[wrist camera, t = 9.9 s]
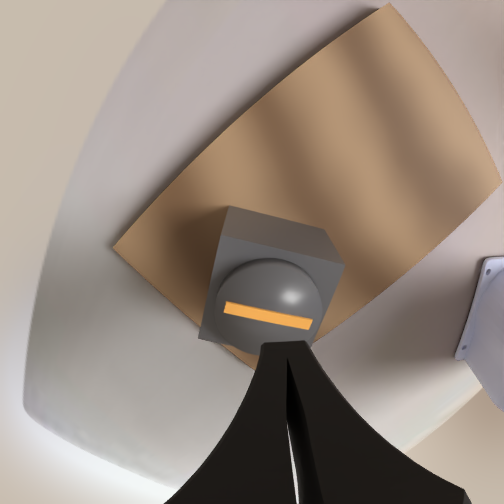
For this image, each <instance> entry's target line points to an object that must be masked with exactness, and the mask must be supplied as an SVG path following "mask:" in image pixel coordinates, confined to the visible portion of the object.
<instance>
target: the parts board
mask: <svg viewBox="0 0 504 504" xmlns="http://www.w3.org/2000/svg"><path fill="white" fill-rule="evenodd" d="M501 183H502V180H501V177H500V175H499V172H498V170H497V168H496V166H495V163H494V161H493V159H492V157H491V155H490V152H489V150H488V148H487V146H486V144H485V142H484V140H483V138H482V136H481V134H480V132H479V130H478V128H477V126H476V125H475V123H474V121H473V119H472V117H471V115H470V114H469V112H468V110H467V108H466V107H465V105H464V103H463V101H462V100H461V98H460V96H459V95H458V93H457V91H456V90H455V88H454V87H453V85H452V83H451V82H450V80H449V79H448V77H447V76H446V74H445V73H444V71H443V70H442V68H441V67H440V65H439V64H438V63H437V61H436V60H435V58H434V57H433V55H432V54H431V53H430V51H429V50H428V49H427V47H426V46H425V45H424V43H423V42H422V41H421V39H420V38H419V37H418V36H417V34H416V33H415V32H414V31H413V29H412V28H411V27H410V26H409V24H408V23H407V22H406V21H405V20H404V18H403V17H402V16H401V15H400V14H399V13H398V11H397V10H396V9H395V8H394V7H393V6H392V5H391V4H390V2H389V3H388V4H386V5H385V6H383V7H382V8H380V9H378V10H377V11H375V12H374V13H372V14H371V15H369V16H368V17H366V18H365V19H363V20H362V21H360V22H359V23H358V24H356V25H355V26H353V27H352V28H350V29H349V30H348V31H346V32H345V33H343V34H342V35H341V36H339V37H338V38H336V39H335V40H334V41H332V42H331V43H330V44H328V45H327V46H325V47H324V48H323V49H321V50H320V51H319V52H318V53H316V54H315V55H314V56H312V57H311V58H310V59H308V60H307V61H306V62H305V63H303V64H302V65H301V66H299V67H298V68H297V69H296V70H294V71H293V72H292V73H291V74H289V75H288V76H287V77H286V78H285V79H283V80H282V81H281V82H280V83H278V84H277V85H276V86H275V87H274V88H272V89H271V90H270V91H269V92H268V93H267V94H265V95H264V96H263V97H262V98H261V99H260V100H258V101H257V102H256V103H255V104H254V105H253V106H251V107H250V108H249V109H248V110H247V111H246V112H245V113H244V114H242V115H241V116H240V117H239V118H238V119H237V120H236V121H235V122H234V123H232V124H231V125H230V126H229V127H228V128H227V129H226V130H225V131H224V132H223V133H222V134H221V135H219V136H218V137H217V138H216V139H215V140H214V141H213V142H212V143H211V144H210V145H209V146H208V147H207V148H206V149H205V150H204V151H203V152H202V153H201V154H200V155H199V156H198V157H197V158H196V159H194V160H193V161H192V162H191V163H190V164H189V165H188V166H187V167H186V168H185V169H184V170H183V171H182V172H181V173H180V175H179V176H178V177H177V178H176V179H175V180H174V181H173V182H172V183H171V184H170V185H169V186H168V187H167V188H166V189H165V190H164V191H163V192H162V193H161V194H160V195H159V196H158V197H157V198H156V200H155V201H154V202H153V203H152V204H151V205H150V206H149V207H148V208H147V209H146V210H145V211H144V213H143V214H142V215H141V216H140V217H139V218H138V219H137V220H136V221H135V223H134V224H133V225H132V226H131V227H130V228H129V229H128V230H127V232H126V233H125V234H124V235H123V236H122V237H121V239H120V240H119V241H118V242H117V243H116V244H115V246H114V247H113V249H114V250H115V251H116V252H117V253H118V254H119V255H120V256H121V257H122V258H123V259H125V260H126V261H127V262H128V263H129V264H130V265H131V266H132V267H133V268H134V269H135V270H136V271H137V272H138V273H139V274H141V275H142V276H143V277H144V278H145V279H146V280H147V281H148V282H149V283H150V284H151V285H153V286H154V287H155V288H156V289H157V290H158V291H159V292H160V293H161V294H163V295H164V296H165V297H166V298H167V299H168V300H169V301H170V302H172V303H173V304H174V305H175V306H176V307H177V308H179V309H180V310H181V311H182V312H183V313H184V314H185V315H187V316H188V317H189V318H190V319H191V320H193V321H194V322H195V323H196V324H197V325H198V326H200V327H201V322H202V317H203V313H204V308H205V303H206V299H207V294H208V289H209V285H210V280H211V276H212V271H213V267H214V262H215V258H216V254H217V249H218V245H219V241H220V236H221V232H222V229H223V225H224V222H225V218H226V215H227V211H228V208H229V205H230V206H235V207H239V208H243V209H247V210H251V211H255V212H259V213H263V214H267V215H271V216H275V217H279V218H283V219H287V220H291V221H295V222H298V223H302V224H306V225H310V226H314V227H317V228H321V229H324V230H325V231H326V233H327V235H328V236H329V238H330V240H331V241H332V243H333V245H334V246H335V248H336V250H337V251H338V253H339V255H340V256H341V258H342V260H343V261H344V263H345V268H344V270H343V273H342V275H341V278H340V280H339V283H338V285H337V288H336V290H335V293H334V295H333V297H332V300H331V302H330V305H329V307H328V309H327V312H326V314H325V316H324V318H323V321H322V323H321V325H320V328H319V330H318V332H317V334H316V337H315V339H314V341H313V343H314V342H315V341H317V340H318V339H320V338H321V337H323V336H324V335H325V334H327V333H328V332H330V331H331V330H332V329H334V328H335V327H337V326H338V325H339V324H341V323H342V322H343V321H345V320H346V319H348V318H349V317H350V316H352V315H353V314H354V313H356V312H357V311H358V310H360V309H361V308H362V307H364V306H365V305H366V304H367V303H369V302H370V301H371V300H373V299H374V298H375V297H376V296H378V295H379V294H380V293H382V292H383V291H384V290H385V289H387V288H388V287H389V286H390V285H392V284H393V283H394V282H395V281H396V280H398V279H399V278H400V277H401V276H403V275H404V274H405V273H406V272H407V271H409V270H410V269H411V268H412V267H413V266H414V265H416V264H417V263H418V262H419V261H420V260H421V259H423V258H424V257H425V256H426V255H427V254H428V253H430V252H431V251H432V250H433V249H434V248H435V247H436V246H437V245H439V244H440V243H441V242H442V241H443V240H444V239H445V238H446V237H447V236H448V235H450V234H451V233H452V232H453V231H454V230H455V229H456V228H457V227H458V226H459V225H460V224H461V223H462V222H463V221H464V220H466V219H467V218H468V217H469V216H470V215H471V214H472V213H473V212H474V211H475V210H476V209H477V208H478V207H479V206H480V205H481V204H482V203H483V202H484V201H485V200H486V199H487V198H488V197H489V196H490V195H491V194H492V193H493V192H494V191H495V190H496V189H497V187H498V186H499V185H500V184H501ZM313 343H312V344H313ZM222 345H223V346H224V347H225V348H227V349H228V350H229V351H230V352H232V353H233V354H234V355H235V356H237V357H238V358H239V359H241V360H242V361H243V362H244V363H246V364H247V365H248V366H250V367H251V368H252V369H253V370H256V367H257V363H258V360H259V356H258V355H253V354H249V353H246V352H243V351H241V350H239V349H237V348H235V347H234V346H230V345H225V344H222Z"/></svg>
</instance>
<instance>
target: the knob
mask: <svg viewBox="0 0 504 504" xmlns="http://www.w3.org/2000/svg"><path fill="white" fill-rule="evenodd" d="M344 268H345V263H344V261H343V260H342V258H341V256H340V255H339V253H338V251H337V250H336V248H335V246H334V245H333V243H332V241H331V240H330V238H329V236H328V235H327V233H326V231H325V230H324V229H321V228H317V227H314V226H310V225H306V224H302V223H298V222H295V221H291V220H287V219H283V218H279V217H275V216H271V215H267V214H263V213H259V212H255V211H251V210H247V209H243V208H239V207H235V206H230V205H229V208H228V211H227V215H226V218H225V222H224V225H223V229H222V232H221V236H220V241H219V245H218V249H217V254H216V258H215V262H214V267H213V271H212V276H211V280H210V285H209V289H208V294H207V299H206V303H205V308H204V313H203V317H202V322H201V327H200V332H199V336H198V339H202V340H207V341H211V342H216V343H220V344H225V345H230V346H234V347H235V348H237V349H239V350H241V351H243V352H246V353H249V354H253V355H258V356H259V355H260V349H261V345H262V344H263V343H264V342H284V341H300V340H305V341H306V342H307V343H308V345H309V347H310V348H311V345H312V343H313V341H314V339H315V337H316V334H317V332H318V330H319V328H320V325H321V323H322V321H323V318H324V316H325V314H326V312H327V309H328V307H329V305H330V302H331V300H332V297H333V295H334V293H335V290H336V288H337V285H338V283H339V280H340V278H341V275H342V273H343V270H344Z"/></svg>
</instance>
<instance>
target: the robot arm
mask: <svg viewBox="0 0 504 504" xmlns="http://www.w3.org/2000/svg"><path fill="white" fill-rule="evenodd" d="M486 271H487V272H486ZM455 359H456V360H457V361H460V360H465V361H466V363H467V364H468V365H469V367H470V368H471V370H472V371H473V373H474V374H475V376H476V377H477V379H478V380H479V382H480V383H481V385H482V386H483V388H484V389H485V391H486V392H487V394H488V395H489V397H490V399H491V400H492V402H493V403H494V404H495V405H496V406H497V407H498V408H499V409H500V410H502V411H503V412H504V256H503V257H490V258H487V259H485V261H484V262H483V266H482V270H481V274H480V278H479V282H478V285H477V289H476V293H475V296H474V300H473V303H472V307H471V310H470V313H469V316H468V319H467V323H466V326H465V329H464V331H463V334H462V337H461V340H460V343H459V346H458V348H457V351H456V354H455ZM287 424H288V428H287ZM288 430H289V435H290V441H291V446H292V452H293V457H294V462H295V468H296V474H297V482H298V495H299V504H472V503H471V501H470V499H469V497H468V496H467V494H466V492H465V490H464V489H462V488H460V487H458V486H456V485H454V484H452V483H450V482H448V481H446V480H444V479H442V478H440V477H439V476H437V475H435V474H433V473H432V472H430V471H428V470H427V469H425V468H423V467H422V466H420V465H419V464H417V463H416V462H414V461H413V460H411V459H410V458H409V457H407V456H406V455H405V454H403V453H402V452H401V451H399V450H398V449H397V448H395V447H394V446H393V445H391V444H390V443H389V442H388V441H387V440H385V439H384V438H383V437H382V436H381V435H380V434H379V433H377V432H376V431H375V430H374V429H373V428H372V427H371V426H370V425H369V424H368V423H367V422H366V421H365V420H364V419H363V418H362V417H361V416H360V415H359V414H358V413H357V412H356V411H355V410H354V408H353V407H352V406H351V405H350V404H349V403H348V402H347V400H346V399H345V398H344V397H343V396H342V394H341V393H340V392H339V391H338V389H337V388H336V387H335V385H334V384H333V383H332V381H331V380H330V378H329V377H328V376H327V374H326V373H325V371H324V370H323V368H322V367H321V365H320V364H319V362H318V361H317V359H316V357H315V356H314V354H313V352H312V350H311V349H310V347H309V345H308V343H307V342H306V341H305V340H300V341H284V342H264V343H263V344H262V345H261V349H260V355H259V360H258V363H257V367H256V370H255V373H254V376H253V378H252V381H251V383H250V386H249V388H248V391H247V393H246V395H245V397H244V399H243V401H242V403H241V405H240V407H239V409H238V411H237V413H236V415H235V417H234V418H233V420H232V422H231V424H230V425H229V427H228V429H227V430H226V432H225V433H224V435H223V436H222V438H221V439H220V441H219V442H218V444H217V445H216V447H215V448H214V449H213V451H212V452H211V453H210V455H209V456H208V457H207V459H206V460H205V461H204V462H203V464H202V465H201V466H200V467H199V468H198V470H197V471H196V472H195V473H194V474H193V475H192V476H191V477H190V478H189V479H188V481H187V482H186V483H185V484H184V485H183V486H182V487H181V488H180V489H179V490H178V491H177V492H176V493H175V494H174V495H173V496H172V497H171V498H170V499H169V500H167V502H165V503H164V504H297V503H296V495H295V487H294V479H293V472H292V463H291V455H290V446H289V437H288Z"/></svg>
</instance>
